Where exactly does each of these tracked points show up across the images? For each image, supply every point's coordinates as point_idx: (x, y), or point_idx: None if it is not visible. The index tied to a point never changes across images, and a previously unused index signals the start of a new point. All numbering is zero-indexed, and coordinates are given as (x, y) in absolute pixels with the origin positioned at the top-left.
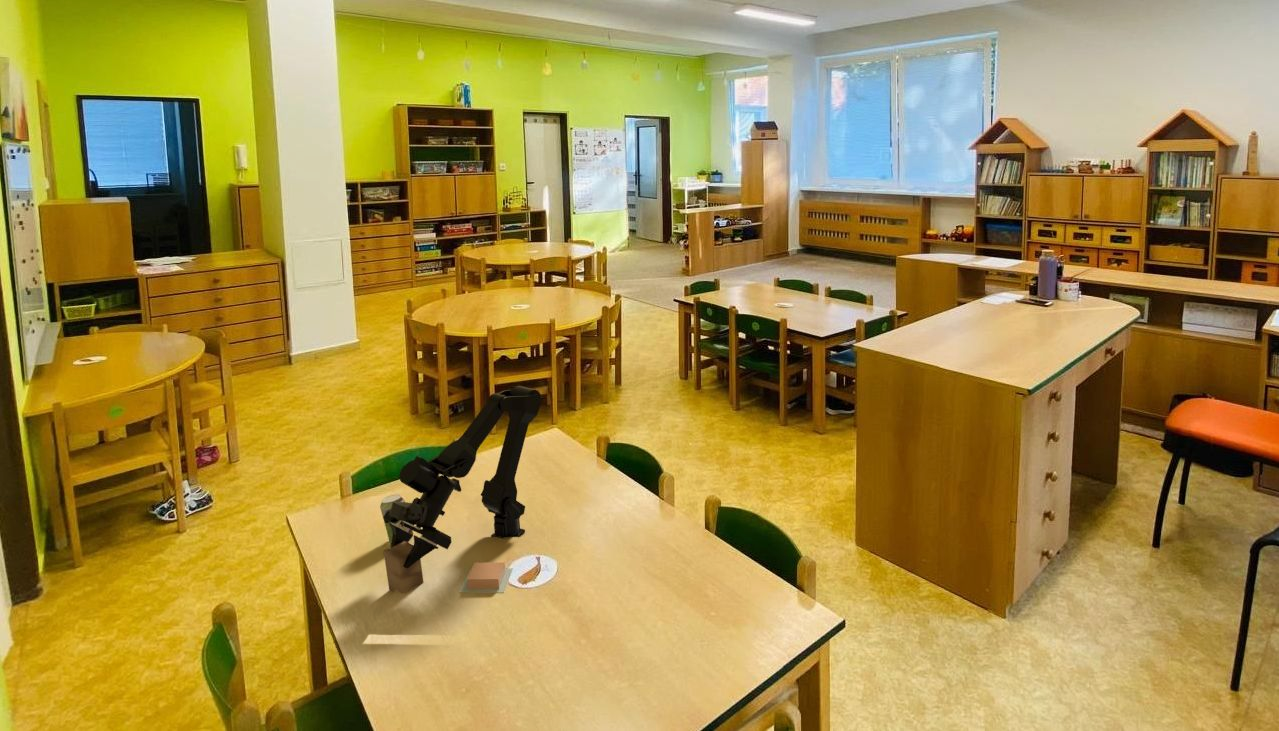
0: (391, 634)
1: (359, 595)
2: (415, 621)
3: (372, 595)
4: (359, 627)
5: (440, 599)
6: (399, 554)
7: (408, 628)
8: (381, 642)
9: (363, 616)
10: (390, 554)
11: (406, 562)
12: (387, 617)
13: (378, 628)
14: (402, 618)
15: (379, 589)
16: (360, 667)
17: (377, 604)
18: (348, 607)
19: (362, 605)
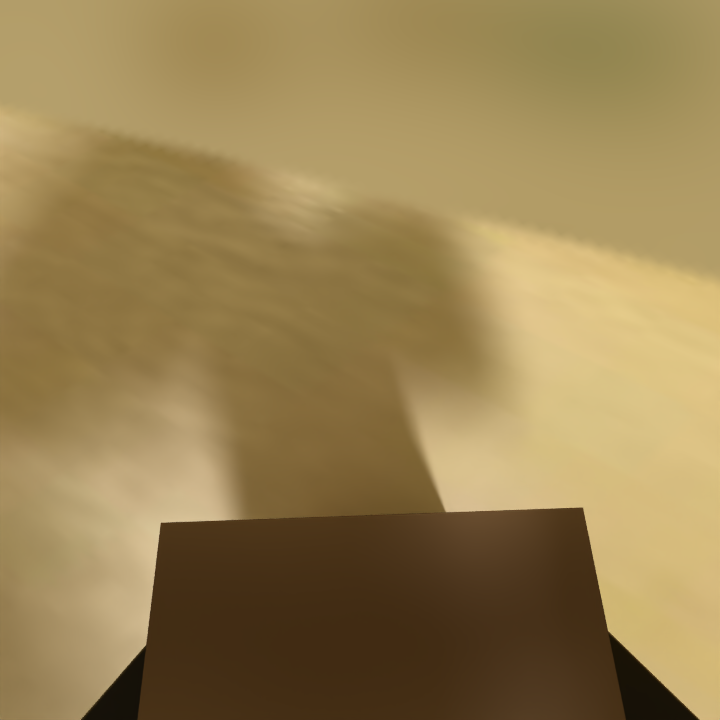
0: (69, 296)
1: (531, 372)
2: (31, 433)
3: (474, 420)
4: (256, 236)
5: (48, 703)
6: (253, 626)
7: (22, 374)
8: (66, 241)
9: (321, 289)
10: (383, 515)
11: None
12: (205, 358)
13: (167, 284)
14: (122, 403)
15: (507, 486)
16: (23, 125)
17: (362, 389)
18: (460, 281)
19: (420, 333)
